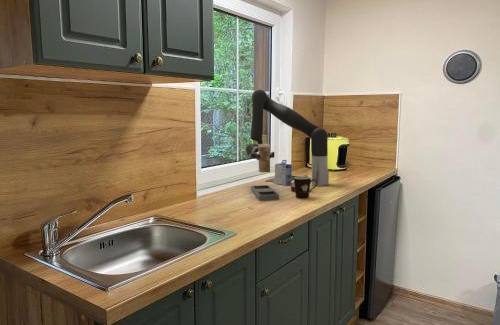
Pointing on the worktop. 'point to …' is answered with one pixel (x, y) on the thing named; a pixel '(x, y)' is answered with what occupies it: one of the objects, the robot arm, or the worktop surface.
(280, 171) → the ink cartridge box
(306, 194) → the coffee mug
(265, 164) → the walnut peg
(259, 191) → the holder tray
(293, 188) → the canned food
